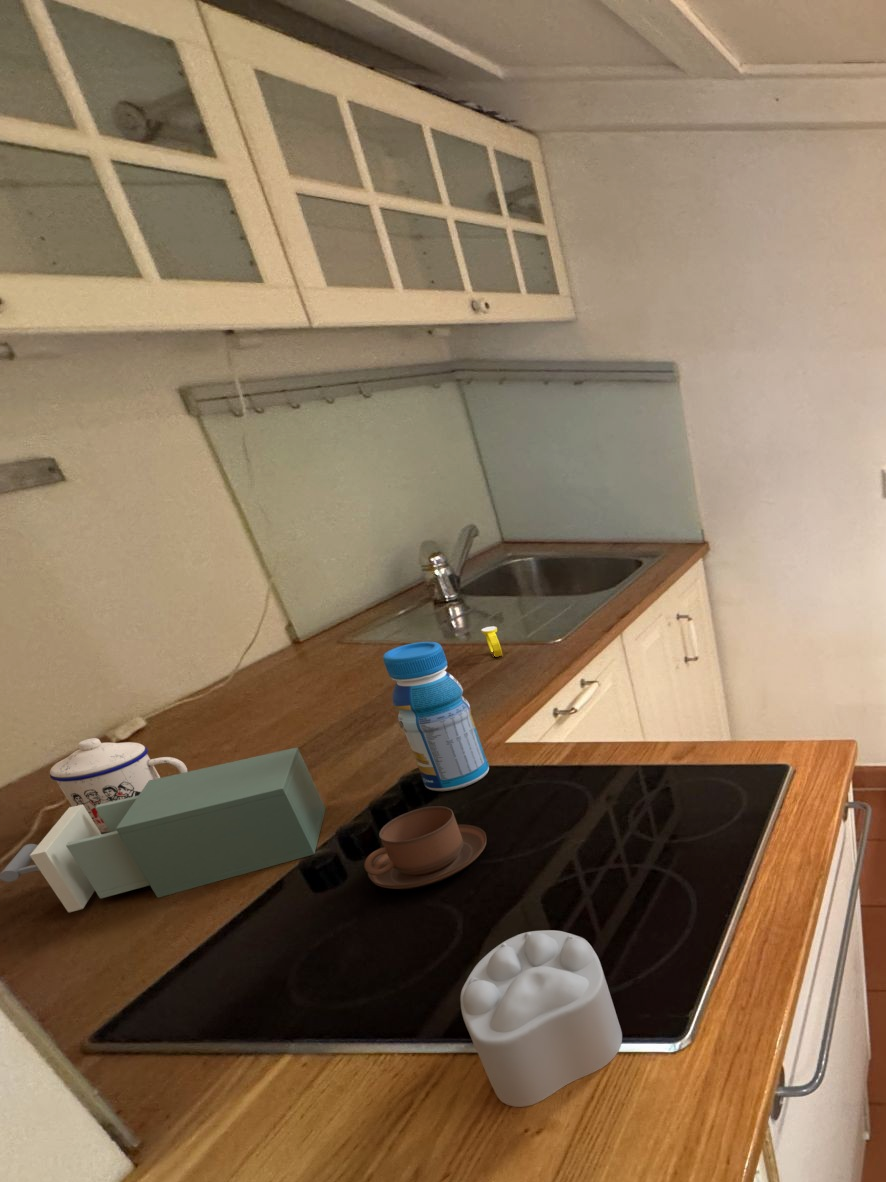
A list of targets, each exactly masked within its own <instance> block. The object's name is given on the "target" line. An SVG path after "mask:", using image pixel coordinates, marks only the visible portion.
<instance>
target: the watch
mask: <svg viewBox="0 0 886 1182" xmlns="http://www.w3.org/2000/svg"><path fill="white" fill-rule="evenodd" d="M480 632H481V634H482V635H485V638H486V642H487V646H488V648H489V651H490V653H491V652H493V651H494V656H495V657H497V656H501V655H502V656H503V651H502V646H501V644H500V641H499V639H498V636H497V634H496V633H497V632H498V627H497V626H494V625H493V626H486V627H483V628H481V629H480ZM494 656H493V657H494Z"/></svg>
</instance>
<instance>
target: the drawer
mask: <svg viewBox="0 0 886 1182" xmlns="http://www.w3.org/2000/svg"><path fill="white" fill-rule="evenodd" d="M138 796H139V795H138ZM138 796H134V797H130V798H125V799H121V800H117V801H112V802H108V803H103V804H99V805H97V806H96V807H95V809H96V810H97V812H98V813H99V815H100V817H101V818H102V820H103V822H104V823H105V825H106V826H107V828H108V830H109V831H110V832H107V833H100V831H99V830H98V828H97V826H96V825H95V823H94V822H93V820H92V818H91V817H90V815H89V813H88V812H87V810H86V809H85V807H84V805H83V804H82V805H78V806H73V807H72V806H69V807H68V808H67V809H66V810H65V812H63V814H62V815H61V817H60V818H59V819H57V821H56V823H55V824H54V825H53V826H52V827H51V829H49V831H48V832H47V833H46V835H45V836H44V837H43V838H42V839H41V841H40V842H39V843H38V844H35V843H28V844H25V845H23V846H22V847H21V849H20V850H19V851H18V852H17V853H16V855H14V857H13V858H12V859H11V860H10V861H9V862H8V864H7V865H6V866H5V867H4V868H3V870H2V871H1V872H0V880H1V881H2V882H8V883H9V882H11V883H12V882H15V881H17V880H18V879H19V878H20V877H21V876H23V875H26V874H30V873H34V872H38V871H39V872H40V873H41V874H42V875H43V877H44V879H45V880H46V882H47V883H48V885H49V886H50V888H51V889H52V891H53V892H54V893H55V895H56V897H57V898H58V900H59V901H60V902H61V904H62V905H63V907H64V908H65V910H66V911H67V913H68V914H69V913H72V912H76V911H80V910H83V909H85V907H86V905H87V904H88V902H89V900H90V899H91V897H92V896H93V894H94V893H96V895H97V897H98V898H99V899H104V898H108V897H112V896H115V895H116V896H117V895H120V894H123V893H127V892H130V891H134V890H137V889H141V888H145V887H149V886H150V885H149V883H148V881H147V880H146V878H145V876H144V875H143V873H142V871H141V870H140V868H139V866H138V865H137V863H136V862H135V860H134V858H133V857H132V855H131V853H130V852H129V850H128V848H127V847H126V845H125V843H124V842H123V840H122V838H121V837H120V835H119V833H118V832H117V830H116V828H117V826H118V825H119V823H120V822H121V820H122V819H123V818H124V816H125V815H126V813H127V812H128V810H129V809H130V807H131V806H132V804H133V803H134V802H135V800H136V799H137V797H138ZM32 862H34V864H31V863H32ZM30 864H31V865H30Z"/></svg>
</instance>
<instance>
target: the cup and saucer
mask: <svg viewBox="0 0 886 1182" xmlns="http://www.w3.org/2000/svg"><path fill="white" fill-rule="evenodd" d="M456 819H457V818H456V817H455V814H454V812H453V810H452V809H451V808H449V807H447V806H441V805H440V806H434V805H433V806H425V807H421V808H417V809H414V810H411V811H408V812H406V813H403V814H401V815H398V816H396V817H394V818H393V819H391V820H390V821H388V822H387V823H385V825H383V826H382V828H381V829H380V830H379V833H378V838H379V839H380V841H381V843H382V845H383V847H380V848H378V849H376V850H374V851H372V852H371V853H369V855H368V856H367V857H366V859H365V861H364V869H365V871H366V872H367V876H368V878H369V879H370V881H371V882H372V883H373V884H374V885H376V886H378V887H381V888H385V889H390V890H410V889H417V888H421V887H425V886H430V885H432V884H435V883H438V882H441V881H443V880H446V879H448V878H450V877H452V876H454V875H456V874H458V873H460V872H461V871H463V870H464V869H466V868H468V867H469V866H470V865H471V864H473V863H474V862H475V861H476V860H477V859H478V857H479V856H480V855H481V854H482V852H483V851H484V850H485V848H486V845H487V835H486V832H485V831H484V830H483V828H480V827H478V826H475V825H471V824H458V823H457V820H456Z"/></svg>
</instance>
